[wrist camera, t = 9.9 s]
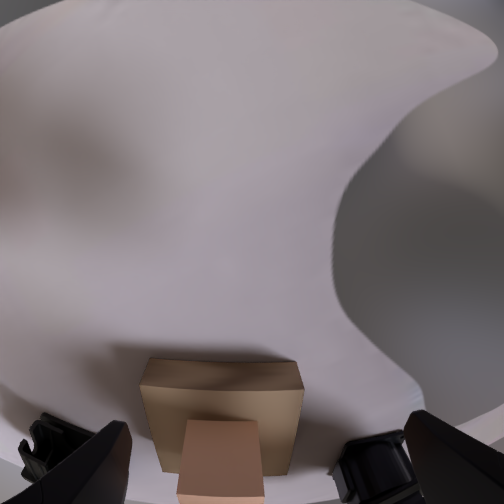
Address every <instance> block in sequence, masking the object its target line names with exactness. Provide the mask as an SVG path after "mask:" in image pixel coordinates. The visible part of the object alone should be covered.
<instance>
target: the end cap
mask: <svg viewBox="0 0 504 504" xmlns="http://www.w3.org/2000/svg"><path fill="white" fill-rule="evenodd" d="M40 419H41V420H36V421H35V422H34V423H33V424H32V426H30V429H29V431H30V434H31V437H32V440H33V442H34V449H33V451H32V452H31V449H30V447H29V444H28V442H27V440H25V439H23V440H22V441H21V442H20V445H19V447H18V451H19V453H20V456H21V458H22V460H23V462H24V464H25V467H24V469H23V470H22V472H21V475H22V477H23V478H24V479H25V480H27V481H29V482H31V483H35V482H36V481H37V480H39V479H41V477H43V476H44V475H45V474H46V473H48V472H49V471H50V470H52V469H53V468H54V467H55V466H57V465H58V464H59V463H61V462H62V461H63V460H64V459H66V458H67V457H68V456H69V455H71V454H72V453H73V452H74V451H76V450H77V449H78V448H79V447H81V446H82V445H83V444H84V443H86V442H87V441H88V440H89V439H91V438H92V437H93V436H94V435H95V433H92V432H89V431H87V430H84V429H82V428H79V427H77V426H74V425H72V424H70V423H67V422H65V421H63V420H60V419H58V418H56V417H54V416H52V415H50V414H48V413H45V412H44V413H42V415H41V416H40ZM128 477H129V471H128ZM127 485H128V478H127V484H126V488H125V492H124V496H123V500H122V503H121V504H124V501H125V496H126V491H127Z"/></svg>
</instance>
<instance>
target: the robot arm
mask: <svg viewBox="0 0 504 504" xmlns="http://www.w3.org/2000/svg"><path fill="white" fill-rule="evenodd" d="M404 440H405V441H406V444H407V448H408V452H409V455H410V459H411V462H410V460H409V458H408V456H407V454H406V452H405V450H404V448H403V447H402V443H403V442H404ZM131 449H132V437H131V434H130V431H129V428H128V425H127V423H126V422H124V421H118V420H113V421H111V422H110V423H109V424H108V425H106V426H105V427H104V428H103V429H102V430H100V431H99V432H98V433H97V434H95V435H94V436H93V437H92V438H91V439H89V440H88V441H87V442H86V443H84V444H83V445H82V446H81V447H79V448H78V449H77V450H76V451H74V452H73V453H72V454H71V455H69V456H68V457H67V458H66V459H64V460H63V461H62V462H61V463H59V464H58V465H57V466H55V467H54V468H53V469H52V470H50V471H49V472H48V473H46V474H45V475H44V476H43V477H41V479H39V480H37V481H36V482H35V483H33V484H32V485H31V486H29V487H28V488H26V489H25V490H24V491H22V492H21V493H19V494H17V495H16V496H14V497H12V498H10V499H9V500H7V501H5V502H3V503H1V504H121V503H122V500H123V496H124V492H125V488H126V484H127V478H128V470H129V463H130V456H131ZM332 477H333V480H335V483H336V487H337V490H338V493H339V497H340V500H341V502H342V503H347V504H504V454H503V453H501V452H497V450H495V449H493V448H491V447H489V446H487V445H485V444H484V443H482V442H480V441H478V440H476V439H474V438H473V437H471V436H469V435H467V434H465V433H463V432H462V431H460V430H458V429H456V428H455V427H453V426H451V425H449V424H447V423H446V422H444V421H442V420H440V419H439V418H437V417H435V416H433V415H432V414H430V413H428V412H427V411H425V410H417V411H413V412H412V413H411V414H410V416H409V418H408V420H407V422H406V424H405V426H404V430H403V431H401V432H397V433H393V434H388V435H384V436H379V437H374V438H369V439H364V440H358V441H352V442H349V443H347V444H346V445H345V447H344V449H343V452H342V454H341V457H340V459H339V460H338V461H337V464H336V466H335V469H334V471H333V476H332ZM422 495H423V496H424V497H422Z"/></svg>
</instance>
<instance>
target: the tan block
mask: <svg viewBox="0 0 504 504" xmlns="http://www.w3.org/2000/svg"><path fill="white" fill-rule="evenodd" d="M139 387H140V391H141V396H142V400H143V404H144V408H145V412H146V416H147V420H148V424H149V428H150V431H151V435H152V439H153V442H154V445H155V449H156V452H157V455H158V459H159V462H160V465H161V468H162V471H163V472H168V473H177V474H179V472H180V465H181V458H182V451H183V445H184V438H185V432H186V426H187V420H206V421H258V432H259V443H260V453H261V464H262V475H263V476H280V475H287V473H288V469H289V464H290V460H291V455H292V451H293V446H294V442H295V437H296V432H297V427H298V422H299V417H300V412H301V407H302V401H303V396H304V390H305V389H304V386H303V382H302V379H301V376H300V372H299V369H298V366H297V362H271V363H233V362H200V361H181V360H167V359H154V358H150V359H149V362H148V364H147V366H146V369H145V371H144V374H143V376H142V379H141V381H140V384H139Z"/></svg>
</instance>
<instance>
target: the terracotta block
mask: <svg viewBox="0 0 504 504" xmlns="http://www.w3.org/2000/svg"><path fill="white" fill-rule="evenodd" d="M176 494H177V497H178V500H179V503H180V504H264V498H265V495H264V485H263V475H262V464H261V453H260V443H259V432H258V421H206V420H187V426H186V432H185V438H184V445H183V451H182V458H181V465H180V472H179V479H178V486H177V493H176Z"/></svg>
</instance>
